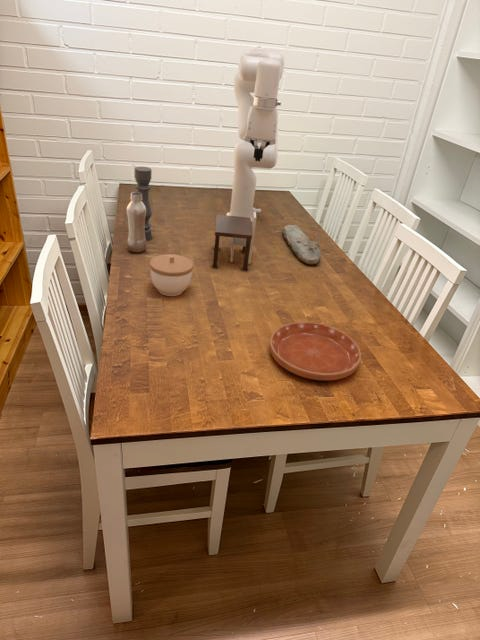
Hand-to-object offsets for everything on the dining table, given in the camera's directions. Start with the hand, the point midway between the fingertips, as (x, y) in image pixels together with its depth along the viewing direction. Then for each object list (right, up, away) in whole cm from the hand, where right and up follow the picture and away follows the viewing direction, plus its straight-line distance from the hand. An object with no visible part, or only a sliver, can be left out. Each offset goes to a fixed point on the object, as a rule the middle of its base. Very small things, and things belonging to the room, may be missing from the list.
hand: (257, 160), depth 165 cm
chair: (-6, -34, +3) cm, 35 cm away
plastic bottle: (-42, -31, 0) cm, 52 cm away
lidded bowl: (-27, -47, -22) cm, 58 cm away
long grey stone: (+17, -27, +19) cm, 37 cm away
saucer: (+13, -65, -43) cm, 79 cm away
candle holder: (-42, -25, +10) cm, 50 cm away
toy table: (-10, -34, +3) cm, 35 cm away
